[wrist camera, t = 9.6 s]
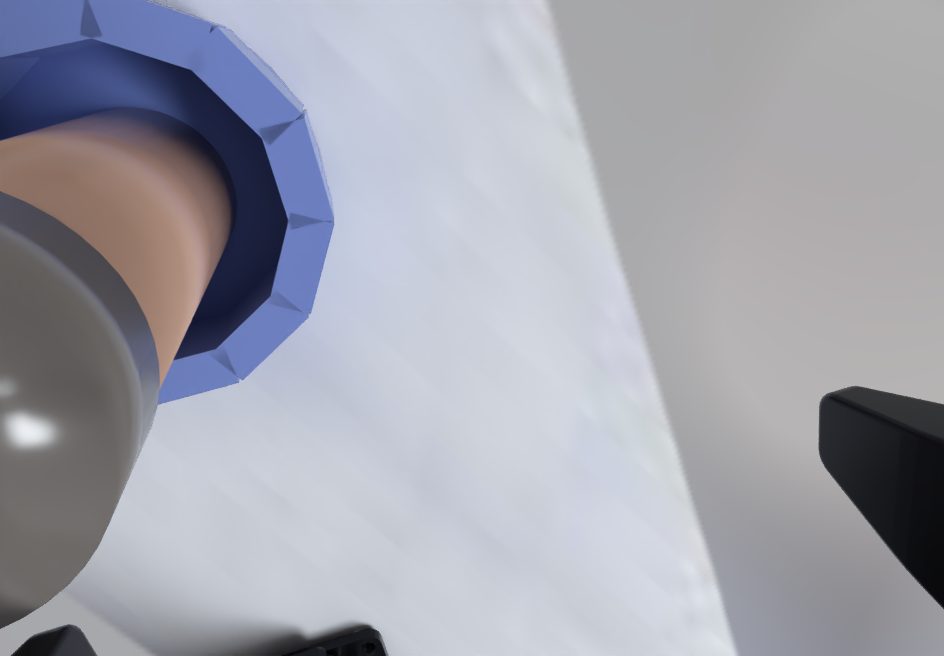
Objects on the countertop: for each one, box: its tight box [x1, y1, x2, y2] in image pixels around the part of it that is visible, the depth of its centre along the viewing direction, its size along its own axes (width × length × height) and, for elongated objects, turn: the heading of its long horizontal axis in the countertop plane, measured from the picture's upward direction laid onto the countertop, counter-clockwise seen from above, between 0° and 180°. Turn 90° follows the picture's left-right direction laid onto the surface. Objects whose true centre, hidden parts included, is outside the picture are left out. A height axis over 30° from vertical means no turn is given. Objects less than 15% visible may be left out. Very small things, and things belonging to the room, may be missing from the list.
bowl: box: [0, 0, 334, 404], centre depth 16 cm, size 9×9×4 cm
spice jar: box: [0, 108, 237, 629], centre depth 12 cm, size 5×5×12 cm
